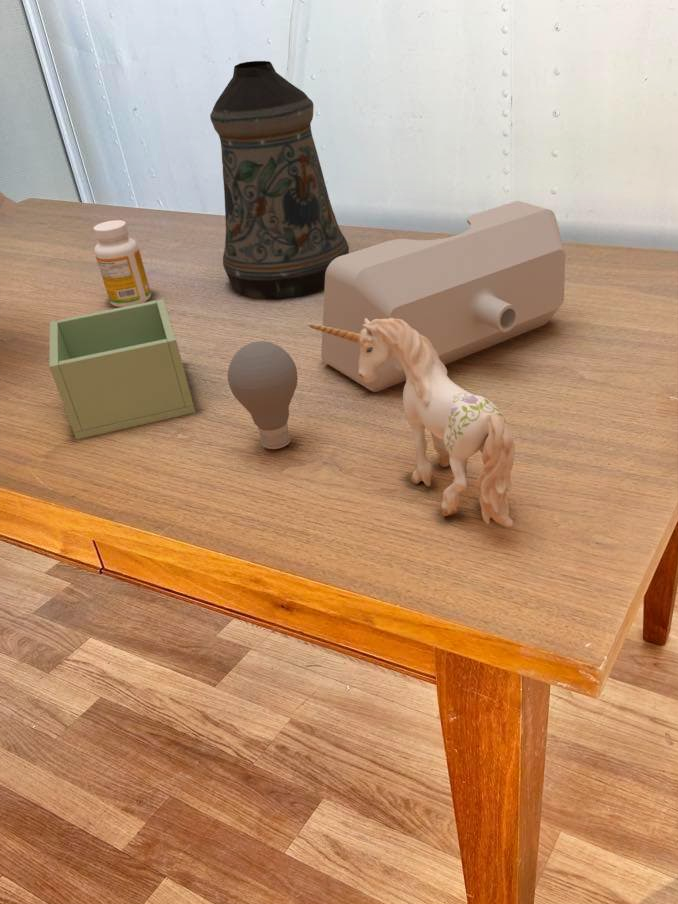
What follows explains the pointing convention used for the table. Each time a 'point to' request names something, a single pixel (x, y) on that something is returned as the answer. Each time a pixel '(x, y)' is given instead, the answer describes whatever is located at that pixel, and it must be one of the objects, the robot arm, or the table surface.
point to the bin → (118, 368)
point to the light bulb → (265, 388)
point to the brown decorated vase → (273, 188)
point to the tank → (449, 288)
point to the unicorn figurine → (441, 415)
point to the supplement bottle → (120, 264)
